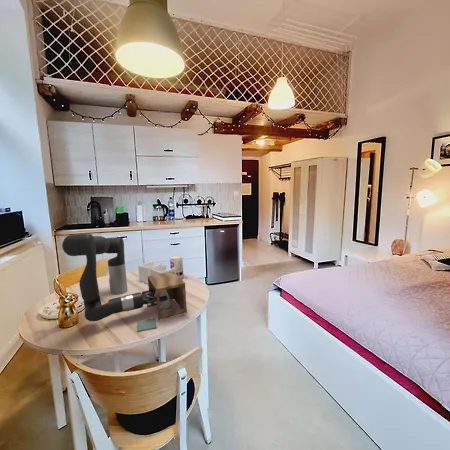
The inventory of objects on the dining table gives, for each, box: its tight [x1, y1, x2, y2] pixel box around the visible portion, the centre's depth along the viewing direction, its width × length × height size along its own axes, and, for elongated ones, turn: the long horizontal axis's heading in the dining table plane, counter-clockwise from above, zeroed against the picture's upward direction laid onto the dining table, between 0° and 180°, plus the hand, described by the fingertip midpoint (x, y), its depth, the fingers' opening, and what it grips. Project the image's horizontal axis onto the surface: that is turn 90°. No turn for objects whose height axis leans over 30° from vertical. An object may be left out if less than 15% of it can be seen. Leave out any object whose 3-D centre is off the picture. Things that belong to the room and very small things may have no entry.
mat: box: [136, 317, 158, 333], centre depth 117 cm, size 8×8×1 cm
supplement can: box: [169, 255, 184, 280], centre depth 172 cm, size 8×8×15 cm
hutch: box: [147, 271, 188, 321], centre depth 131 cm, size 14×19×16 cm
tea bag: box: [154, 290, 170, 310], centre depth 130 cm, size 4×7×10 cm, turn 57°
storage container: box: [137, 260, 176, 285], centre depth 167 cm, size 25×11×11 cm, turn 51°
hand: (165, 294), depth 131 cm, fingers closed on tea bag, 8 cm apart
